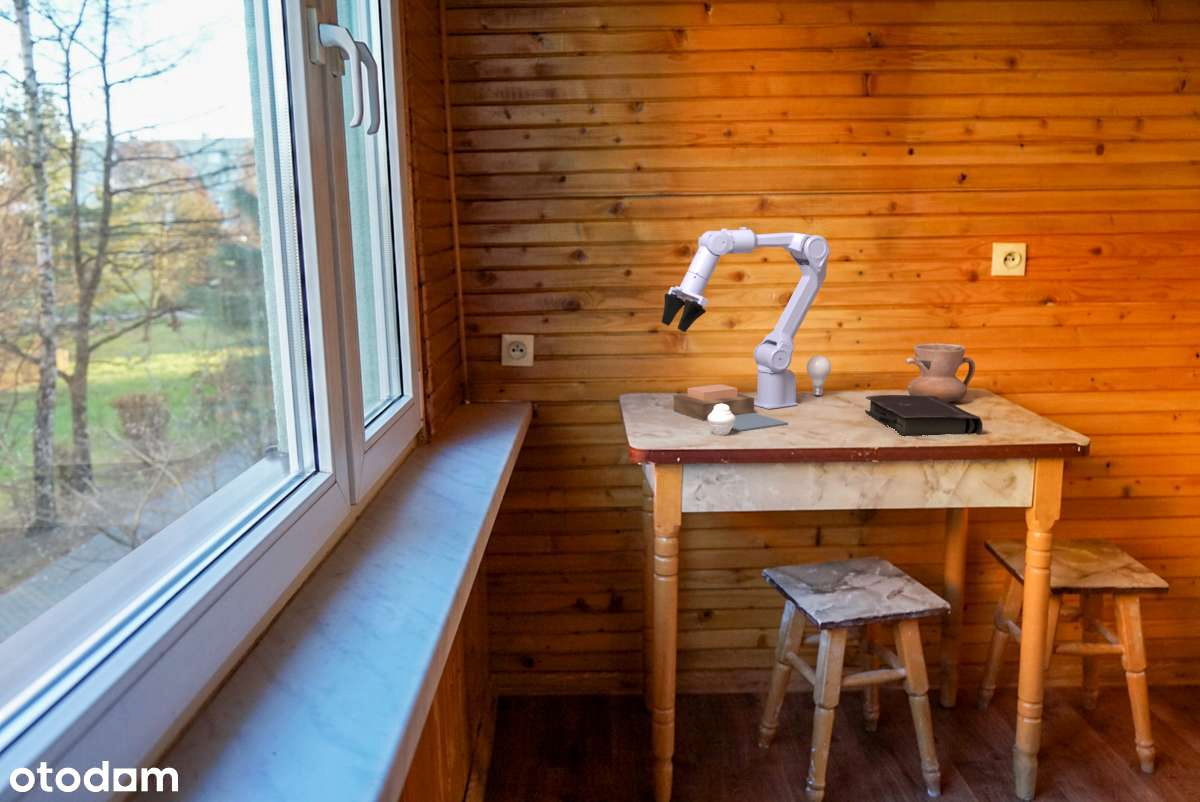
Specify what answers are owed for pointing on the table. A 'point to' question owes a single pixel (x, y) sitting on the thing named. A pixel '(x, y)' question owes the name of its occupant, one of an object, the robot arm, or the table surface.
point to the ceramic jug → (940, 371)
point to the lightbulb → (818, 372)
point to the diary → (922, 415)
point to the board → (712, 405)
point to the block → (712, 392)
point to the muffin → (721, 419)
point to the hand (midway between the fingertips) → (672, 327)
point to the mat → (754, 422)
